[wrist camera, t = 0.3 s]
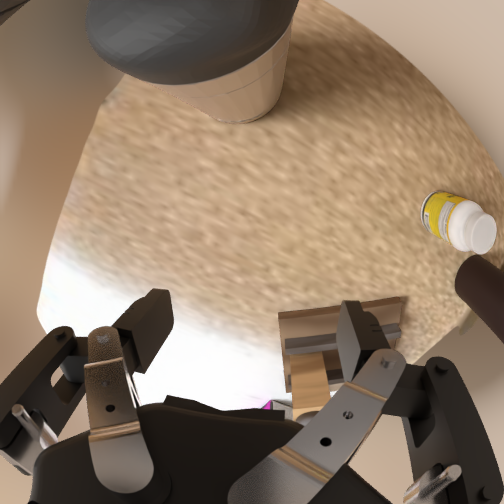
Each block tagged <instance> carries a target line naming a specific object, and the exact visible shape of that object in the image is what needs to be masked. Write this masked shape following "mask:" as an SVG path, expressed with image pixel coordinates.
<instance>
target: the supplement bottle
mask: <svg viewBox="0 0 504 504" xmlns="http://www.w3.org/2000/svg"><path fill="white" fill-rule="evenodd" d="M421 221H422V224H423V226H424V227H425V229H426V230H427V231H429V232H430V233H432V234H433V235H435V236H437V237H439V238H440V239H442V240H443V241H445V242H447V243H448V244H450V245H452V246H453V247H455V248H456V249H458V250H460V251H463V252H467V251H471V250H472V251H473V252H475V253H477V254H485V253H486V252H488V251H489V250H490V249H491V247H492V246H493V244H494V241H495V238H496V232H497V228H496V223H495V220H494V218H493V217H492V216H491V215H489V214H486V213H485V212H483V210H482V208H481V207H480V206H479V205H478V204H477V203H475V202H473V201H471V200H468V199H465V198H462V197H459V196H456V195H452V194H449V193H446V192H443V191H434V192H432V193H430V194H429V195H428V196H427V197H426V198H425V200H424V202H423V204H422V207H421Z"/></svg>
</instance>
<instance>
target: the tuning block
mask: <svg viewBox="0 0 504 504" xmlns="http://www.w3.org/2000/svg"><path fill="white" fill-rule="evenodd" d="M290 367H291V385H292V405H293V421H295V422H298V423H300V424H302V425H304V426H306V425H307V424H308V423H309V422H310V421H311V420H312V418H313V417H314V416H315V415H316V414H317V413H318V412H319V411H320V410H321V409H322V408H323V407H324V406H325V405H326V403H327V402H328V401H329V400H330V399H331V396H330V391H329V386H328V380H327V375H326V370H325V365H324V360H323V355H322V351H318V352H310V353H301V354H291V355H290Z"/></svg>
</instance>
